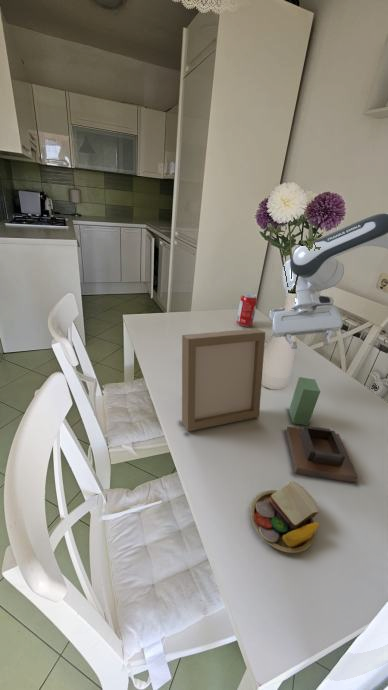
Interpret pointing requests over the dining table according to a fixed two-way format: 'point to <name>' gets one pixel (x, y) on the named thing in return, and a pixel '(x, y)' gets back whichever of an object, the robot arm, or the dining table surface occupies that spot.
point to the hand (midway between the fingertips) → (310, 346)
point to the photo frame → (221, 377)
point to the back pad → (304, 401)
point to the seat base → (319, 453)
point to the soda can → (247, 309)
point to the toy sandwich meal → (285, 517)
